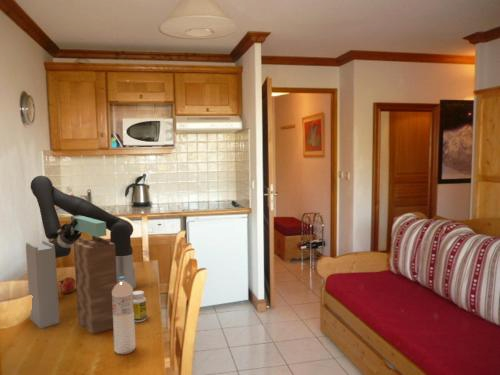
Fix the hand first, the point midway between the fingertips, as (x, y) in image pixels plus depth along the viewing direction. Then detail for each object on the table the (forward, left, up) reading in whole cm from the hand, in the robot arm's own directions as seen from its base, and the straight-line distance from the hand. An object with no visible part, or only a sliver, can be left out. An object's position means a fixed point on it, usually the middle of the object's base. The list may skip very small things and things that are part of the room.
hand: (81, 220), depth 163 cm
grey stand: (+14, -7, -40) cm, 43 cm away
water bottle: (-1, +38, -40) cm, 55 cm away
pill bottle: (-15, +17, -40) cm, 46 cm away
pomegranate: (-3, -37, -40) cm, 55 cm away
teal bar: (-1, +6, -4) cm, 7 cm away
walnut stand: (-1, +11, -40) cm, 41 cm away
